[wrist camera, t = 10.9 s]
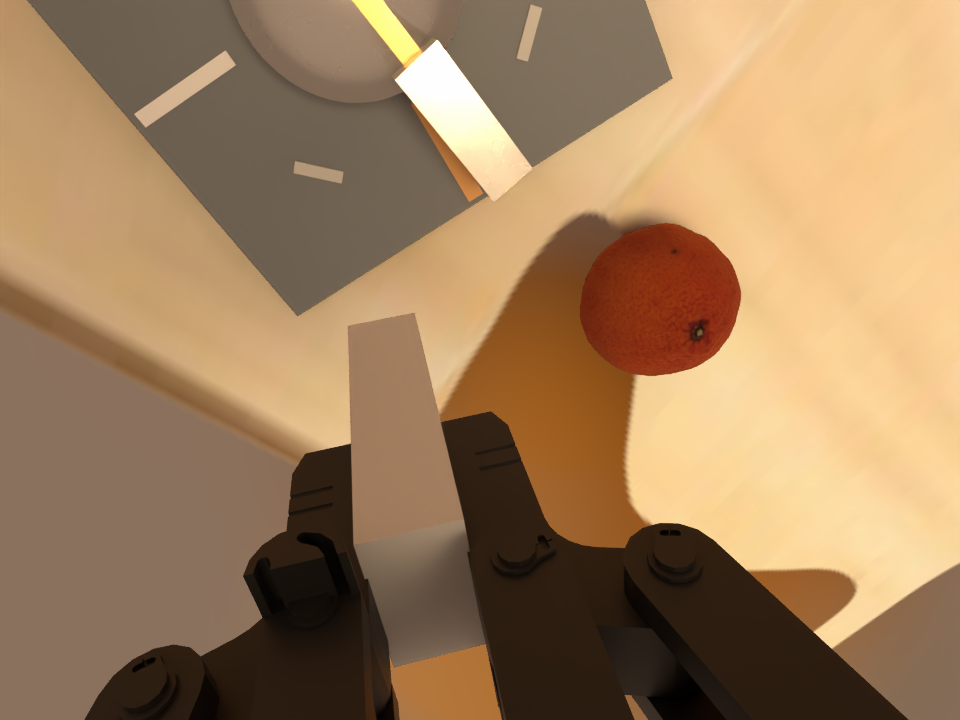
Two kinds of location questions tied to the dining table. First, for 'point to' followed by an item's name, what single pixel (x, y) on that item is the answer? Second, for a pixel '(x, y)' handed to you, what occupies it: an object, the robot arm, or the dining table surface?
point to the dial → (386, 68)
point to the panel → (348, 121)
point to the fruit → (660, 301)
